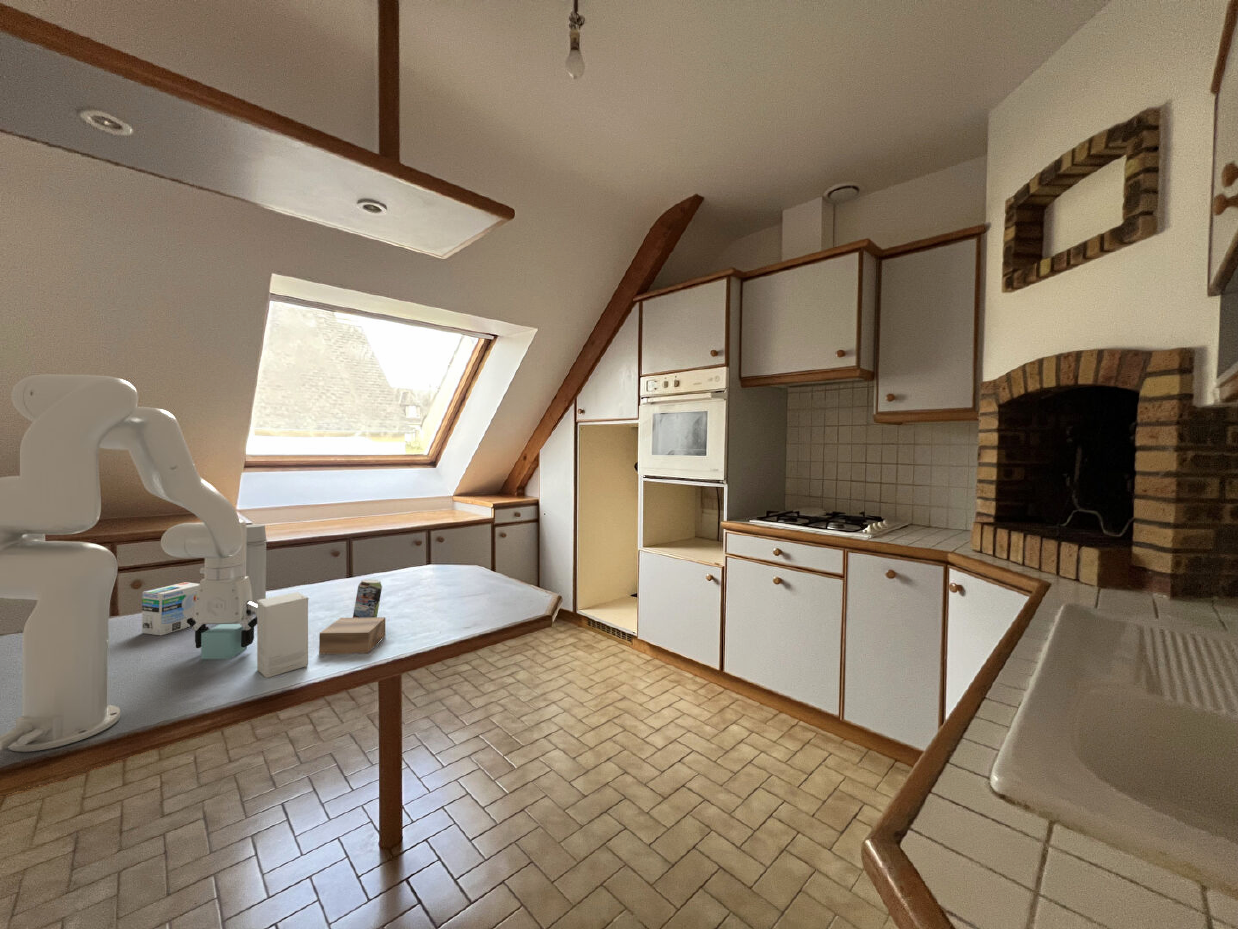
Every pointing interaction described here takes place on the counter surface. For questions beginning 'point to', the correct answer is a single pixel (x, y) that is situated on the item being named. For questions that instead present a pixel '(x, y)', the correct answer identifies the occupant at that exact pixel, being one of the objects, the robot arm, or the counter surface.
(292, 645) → the skincare box
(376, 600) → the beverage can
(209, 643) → the teal cube
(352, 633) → the walnut block
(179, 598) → the light bulb box
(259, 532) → the water bottle
